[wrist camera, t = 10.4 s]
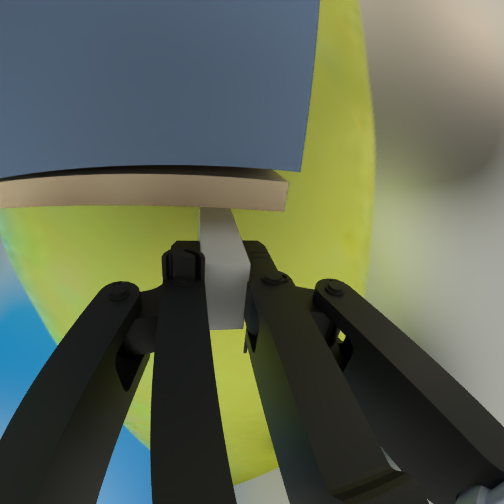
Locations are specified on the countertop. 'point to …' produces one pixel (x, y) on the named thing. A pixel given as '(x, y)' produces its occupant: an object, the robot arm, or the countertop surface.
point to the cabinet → (155, 83)
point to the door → (149, 187)
